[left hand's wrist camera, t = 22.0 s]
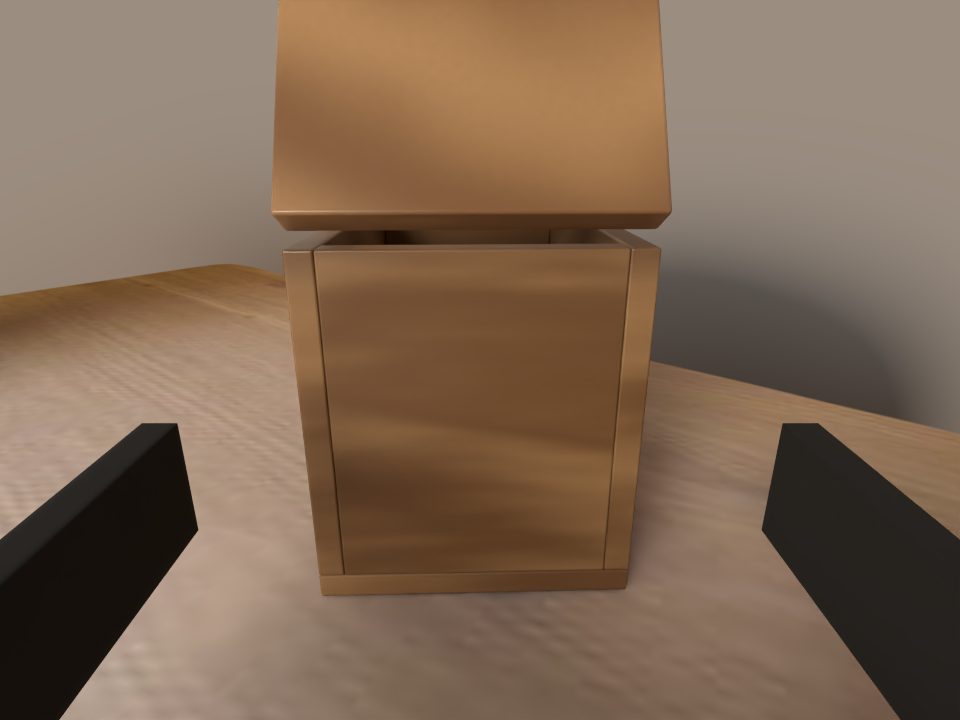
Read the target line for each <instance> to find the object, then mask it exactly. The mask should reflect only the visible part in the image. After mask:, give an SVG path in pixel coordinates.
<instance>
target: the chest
mask: <svg viewBox="0 0 960 720" xmlns="http://www.w3.org/2000/svg"><path fill="white" fill-rule="evenodd" d="M282 257H283V266H284V274H285V283H286V292H287V300H288V309H289V317H290V326H291V335H292V343H293V352H294V360H295V369H296V378H297V386H298V395H299V403H300V412H301V421H302V429H303V438H304V446H305V455H306V464H307V472H308V481H309V489H310V498H311V507H312V515H313V524H314V532H315V541H316V550H317V558H318V567H319V574H320V583H321V592H322V595H324V596H325V595H371V594H416V593H462V592H507V591H553V590H598V589H625V588H626V583H627V573H628V565H629V556H630V546H631V537H632V527H633V517H634V508H635V498H636V489H637V479H638V469H639V460H640V450H641V441H642V431H643V421H644V412H645V402H646V393H647V383H648V373H649V364H650V354H651V345H652V335H653V325H654V316H655V306H656V296H657V287H658V278H659V268H660V258H661V248H660V247H658V246H656V245H653V244H652V243H650V242H648V241H646V240H644V239H642V238H640V237H638V236H636V235H634V234H632V233H630V232H628V231H626V230H624V229H559V230H359V231H316V232H314V233H312V234H310V235H309V236H307V237H305V238H303V239H302V240H300V241H298V242H297V243H295V244H293V245H291V246H289V247H288V248H286V249H284V250H283V251H282Z"/></svg>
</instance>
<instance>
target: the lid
mask: <svg viewBox="0 0 960 720" xmlns="http://www.w3.org/2000/svg"><path fill="white" fill-rule="evenodd" d="M671 212H672V203H671V187H670V171H669V155H668V139H667V123H666V107H665V91H664V75H663V59H662V42H661V26H660V10H659V0H279V4H278V32H277V61H276V89H275V117H274V146H273V174H272V202H271V213H272V215H273V216H274V218H275V219H276V220H277V221H278V222H279V223H280V225H281V226H282V227H283V228H284V229H285V230H287V231H359V230H559V229H656V228H658V227H659V226H660V225H661V224H662V223H663V221H664V220H665V219H666V218H667V217H668V216H669V215H670V214H671Z"/></svg>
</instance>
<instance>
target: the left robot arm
mask: <svg viewBox="0 0 960 720" xmlns="http://www.w3.org/2000/svg"><path fill="white" fill-rule="evenodd" d="M197 531H198V526H197V521H196V516H195V511H194V506H193V500H192V495H191V490H190V485H189V480H188V475H187V470H186V465H185V460H184V455H183V450H182V445H181V440H180V435H179V430H178V424H177V423H142V424H141V425H139V426H138V427H137V428H136V429H134V430H133V431H132V432H131V433H130V434H128V435H127V436H126V437H125V438H124V439H122V440H121V441H120V442H119V443H117V444H116V445H115V446H114V447H113V448H111V449H110V450H109V451H108V452H106V453H105V454H104V455H103V456H102V457H100V458H99V459H98V460H97V461H95V462H94V463H93V464H92V465H91V466H89V467H88V468H87V469H86V470H85V471H83V472H82V473H81V474H80V475H78V476H77V477H76V478H75V479H74V480H72V481H71V482H70V483H69V484H67V485H66V486H65V487H64V488H63V489H61V490H60V491H59V492H58V493H56V494H55V495H54V496H53V497H52V498H50V499H49V500H48V501H47V502H46V503H44V504H43V505H42V506H41V507H39V508H38V509H37V510H36V511H35V512H33V513H32V514H31V515H30V516H28V517H27V518H26V519H25V520H24V521H22V522H21V523H20V524H19V525H17V526H16V527H15V528H14V529H13V530H11V531H10V532H9V533H8V534H7V535H5V536H4V537H3V538H2V539H0V720H59V719H60V718H61V717H62V715H63V714H64V713H65V711H66V710H67V709H68V707H69V706H70V704H71V703H72V702H73V700H74V699H75V698H76V696H77V695H78V694H79V692H80V691H81V689H82V688H83V687H84V685H85V684H86V683H87V681H88V680H89V679H90V677H91V676H92V674H93V673H94V672H95V670H96V669H97V668H98V666H99V665H100V664H101V662H102V661H103V659H104V658H105V657H106V655H107V654H108V653H109V651H110V650H111V649H112V647H113V646H114V644H115V643H116V642H117V640H118V639H119V638H120V636H121V635H122V634H123V632H124V631H125V629H126V628H127V627H128V625H129V624H130V623H131V621H132V620H133V619H134V617H135V616H136V614H137V613H138V612H139V610H140V609H141V608H142V606H143V605H144V604H145V602H146V601H147V599H148V598H149V597H150V595H151V594H152V593H153V591H154V590H155V589H156V587H157V586H158V584H159V583H160V582H161V580H162V579H163V578H164V576H165V575H166V574H167V572H168V571H169V569H170V568H171V567H172V565H173V564H174V563H175V561H176V560H177V559H178V557H179V556H180V554H181V553H182V552H183V550H184V549H185V548H186V546H187V545H188V544H189V542H190V541H191V539H192V538H193V537H194V535H195V534H196V533H197ZM762 531H763V533H764V534H765V535H766V537H767V538H768V539H769V541H770V542H771V544H772V545H773V546H774V548H775V549H776V550H777V552H778V553H779V554H780V556H781V557H782V559H783V560H784V561H785V563H786V564H787V565H788V567H789V568H790V569H791V571H792V572H793V574H794V575H795V576H796V578H797V579H798V580H799V582H800V583H801V584H802V586H803V587H804V589H805V590H806V591H807V593H808V594H809V595H810V597H811V598H812V599H813V601H814V602H815V604H816V605H817V606H818V608H819V609H820V610H821V612H822V613H823V614H824V616H825V617H826V619H827V620H828V621H829V623H830V624H831V625H832V627H833V628H834V629H835V631H836V632H837V634H838V635H839V636H840V638H841V639H842V640H843V642H844V643H845V644H846V646H847V647H848V649H849V650H850V651H851V653H852V654H853V655H854V657H855V658H856V659H857V661H858V662H859V664H860V665H861V666H862V668H863V669H864V670H865V672H866V673H867V674H868V676H869V677H870V679H871V680H872V681H873V683H874V684H875V685H876V687H877V688H878V689H879V691H880V692H881V694H882V695H883V696H884V698H885V699H886V700H887V702H888V703H889V704H890V706H891V707H892V709H893V710H894V711H895V713H896V714H897V715H898V717H899V718H900V719H901V720H960V539H958V538H957V537H956V536H955V535H953V534H952V533H951V532H950V531H949V530H947V529H946V528H945V527H944V526H943V525H941V524H940V523H939V522H938V521H936V520H935V519H934V518H933V517H932V516H930V515H929V514H928V513H927V512H925V511H924V510H923V509H922V508H921V507H919V506H918V505H917V504H916V503H914V502H913V501H912V500H911V499H910V498H908V497H907V496H906V495H905V494H904V493H902V492H901V491H900V490H899V489H897V488H896V487H895V486H894V485H893V484H891V483H890V482H889V481H888V480H886V479H885V478H884V477H883V476H882V475H880V474H879V473H878V472H877V471H875V470H874V469H873V468H872V467H871V466H869V465H868V464H867V463H866V462H865V461H863V460H862V459H861V458H860V457H858V456H857V455H856V454H855V453H854V452H852V451H851V450H850V449H849V448H847V447H846V446H845V445H844V444H843V443H841V442H840V441H839V440H838V439H836V438H835V437H834V436H833V435H832V434H830V433H829V432H828V431H827V430H826V429H824V428H823V427H822V426H821V425H819V424H818V423H783V424H782V430H781V435H780V440H779V445H778V450H777V455H776V460H775V465H774V470H773V475H772V480H771V485H770V490H769V495H768V500H767V506H766V511H765V516H764V521H763V526H762Z"/></svg>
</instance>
